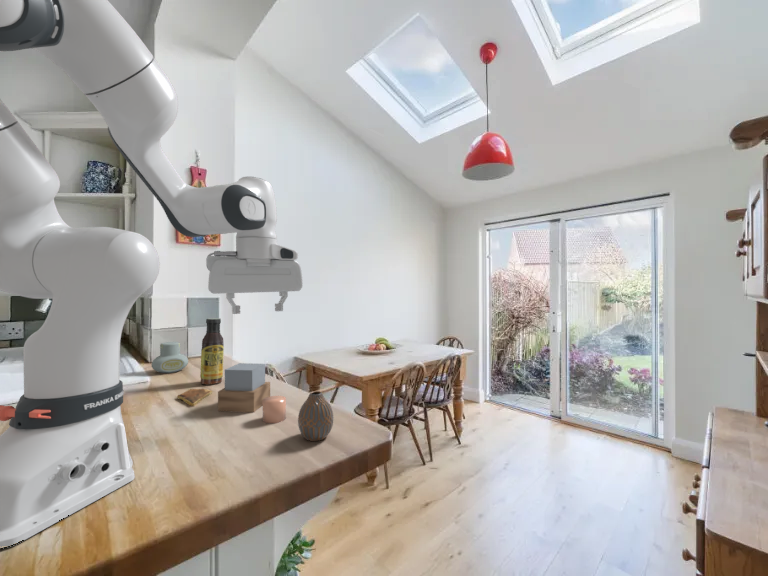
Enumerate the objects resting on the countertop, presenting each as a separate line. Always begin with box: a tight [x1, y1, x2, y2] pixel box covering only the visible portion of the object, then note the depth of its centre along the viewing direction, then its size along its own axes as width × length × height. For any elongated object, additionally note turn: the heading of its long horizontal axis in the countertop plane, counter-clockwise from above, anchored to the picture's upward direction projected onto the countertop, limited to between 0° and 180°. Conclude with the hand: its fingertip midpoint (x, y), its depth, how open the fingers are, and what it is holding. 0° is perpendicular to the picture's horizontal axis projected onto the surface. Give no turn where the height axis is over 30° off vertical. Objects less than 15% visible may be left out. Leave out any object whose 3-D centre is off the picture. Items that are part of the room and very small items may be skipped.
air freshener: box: [151, 341, 189, 374], centre depth 121 cm, size 11×8×10 cm
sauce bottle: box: [199, 317, 225, 386], centre depth 106 cm, size 6×6×20 cm
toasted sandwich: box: [176, 388, 213, 407], centre depth 91 cm, size 11×8×2 cm
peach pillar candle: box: [262, 395, 287, 425], centre depth 78 cm, size 5×5×4 cm
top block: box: [224, 362, 266, 391], centre depth 87 cm, size 7×7×5 cm
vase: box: [297, 390, 334, 442], centre depth 68 cm, size 7×7×9 cm
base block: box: [217, 381, 271, 413], centre depth 87 cm, size 9×9×5 cm
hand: (258, 312), depth 79 cm, fingers open, 8 cm apart
